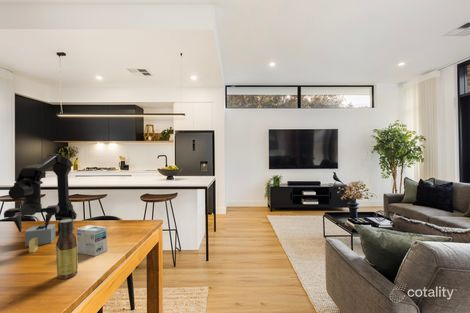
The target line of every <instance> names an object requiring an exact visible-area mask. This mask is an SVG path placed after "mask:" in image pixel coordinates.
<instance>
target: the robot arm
mask: <svg viewBox="0 0 470 313" xmlns="http://www.w3.org/2000/svg"><path fill="white" fill-rule="evenodd" d="M72 166H73V162H72V161H71V160H70V159H69V158H67V157H65V156H62V155H61V154H59V153H50V154H47V155H46V157H44V158H42V159H41V160H40V161H38V162H36V163H35V164H30V165H27V166H23V167H22V168H21V170H20V172H19V173H18V176H17V179H16V180H15V182H14V183H13V186H11V187H9V191H8V196H9V197H10V199H12V200H16V201H17V200H20V199H23V204H22V205H21V206H20V207H16V208H15V207H14V208H13V207H12V208H8V209H6V210H5V211H4V213H3V218H4V219H5V218H7V219H8V220H11V221H13V223H14V224H15V226H16V228H17V230H18V232H19V233H22V229H23V228H22V227H23V226H22V217H25V216H34V215H36V214H39V213H41V214H42V213H46V214H45V222H44V225H45V229H47V227H48V225H49V224H50V221H51V219H52V217H53V216H54V220H55V221H56V222H57V221H58V223H57V231H58V232H57V233H59V234H60V226H59V221H61V220H65V219H72V220H73V221H75V220H77V216H78V215H77V214H78V213H76V211H75V209H74V205H73V204H72V203H71V201H70V194H69V192H70V191H69V174H70V173H71V171H72ZM50 168H52V172H53V173H54V175H56V180H57V198H58V199H57V204H53V205H48V206H47V207H43V206H42V200H41V199H42V194H41V191H42V190H41V189H42V188H41V187H42V186H41V185H42V184H44V182H43V181H42V180H41V179H42V178H44V176H45V175H46V173H45V172H46V171H47V170H49V169H50ZM74 229H75V227H74V223H73V224H72V230H73V231H74Z"/></svg>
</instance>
